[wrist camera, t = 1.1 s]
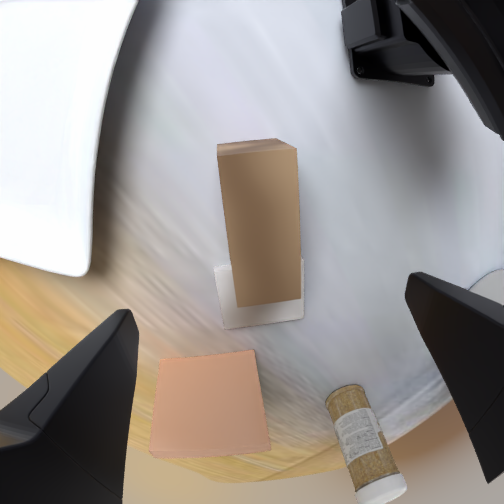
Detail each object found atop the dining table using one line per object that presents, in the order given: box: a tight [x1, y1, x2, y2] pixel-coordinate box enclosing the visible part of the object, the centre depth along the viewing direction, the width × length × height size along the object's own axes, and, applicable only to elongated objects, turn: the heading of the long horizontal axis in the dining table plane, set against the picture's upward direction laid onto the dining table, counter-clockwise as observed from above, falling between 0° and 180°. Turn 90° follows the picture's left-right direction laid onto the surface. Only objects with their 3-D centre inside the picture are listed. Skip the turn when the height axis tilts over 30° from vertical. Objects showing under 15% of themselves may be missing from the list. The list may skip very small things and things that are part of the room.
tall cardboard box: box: [214, 138, 304, 330], centre depth 18 cm, size 6×13×5 cm, turn 5°
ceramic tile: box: [149, 350, 271, 458], centre depth 21 cm, size 8×2×9 cm, turn 95°
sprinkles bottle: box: [326, 385, 407, 504], centre depth 23 cm, size 5×5×13 cm
